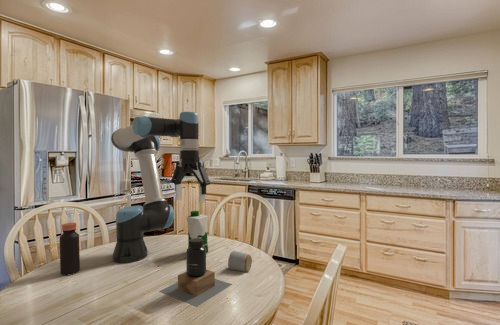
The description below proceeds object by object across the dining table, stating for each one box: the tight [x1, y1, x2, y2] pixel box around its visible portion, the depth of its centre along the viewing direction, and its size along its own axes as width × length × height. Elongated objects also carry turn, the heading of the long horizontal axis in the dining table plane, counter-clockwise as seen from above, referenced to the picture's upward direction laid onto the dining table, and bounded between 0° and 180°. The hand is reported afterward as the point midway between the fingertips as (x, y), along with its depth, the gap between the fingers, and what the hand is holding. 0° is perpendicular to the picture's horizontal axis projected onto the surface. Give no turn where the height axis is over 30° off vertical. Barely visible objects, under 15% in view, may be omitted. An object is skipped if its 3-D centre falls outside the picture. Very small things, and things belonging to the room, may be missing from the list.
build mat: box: [158, 278, 233, 307], centre depth 100 cm, size 18×18×1 cm
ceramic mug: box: [227, 250, 253, 273], centre depth 118 cm, size 11×8×8 cm
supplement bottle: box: [185, 238, 207, 277], centre depth 99 cm, size 7×7×12 cm
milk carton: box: [186, 210, 210, 254], centre depth 138 cm, size 9×9×20 cm
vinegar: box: [59, 222, 81, 276], centre depth 116 cm, size 7×7×20 cm
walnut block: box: [177, 269, 216, 296], centre depth 100 cm, size 9×9×5 cm
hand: (190, 201), depth 117 cm, fingers open, 13 cm apart
